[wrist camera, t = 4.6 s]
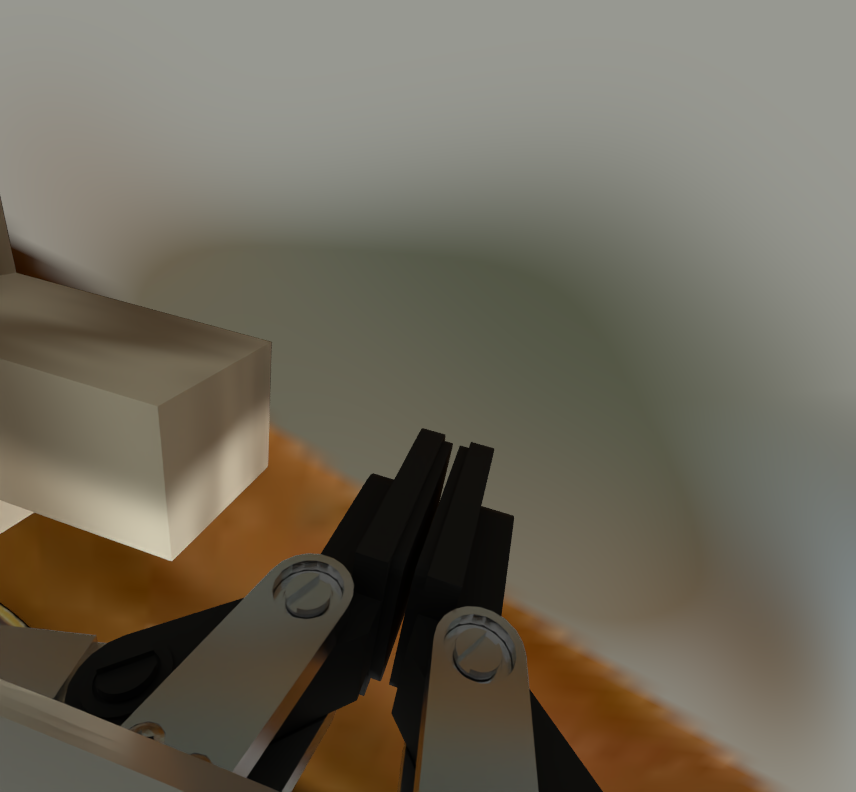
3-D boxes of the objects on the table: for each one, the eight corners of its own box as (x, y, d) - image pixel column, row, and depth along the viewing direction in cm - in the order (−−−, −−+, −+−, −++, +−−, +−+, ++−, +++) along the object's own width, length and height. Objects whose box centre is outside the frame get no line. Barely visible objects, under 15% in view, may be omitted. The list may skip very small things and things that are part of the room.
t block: (276, 175, 11) (136, 173, 7) (265, 563, 16) (181, 671, 12) (-144, 84, 12) (-426, 47, 9) (-28, 462, 18) (-173, 532, 14)
